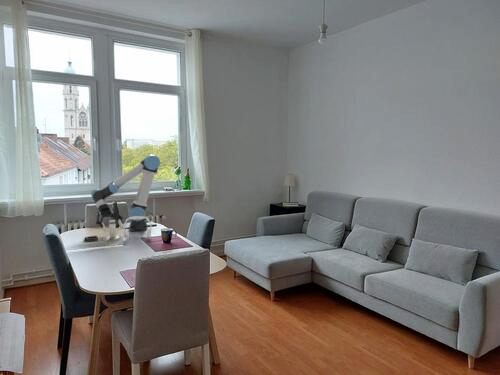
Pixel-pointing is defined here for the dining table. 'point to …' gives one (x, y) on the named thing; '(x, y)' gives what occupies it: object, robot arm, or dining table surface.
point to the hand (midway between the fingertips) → (114, 228)
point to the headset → (126, 231)
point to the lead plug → (112, 228)
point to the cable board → (95, 238)
